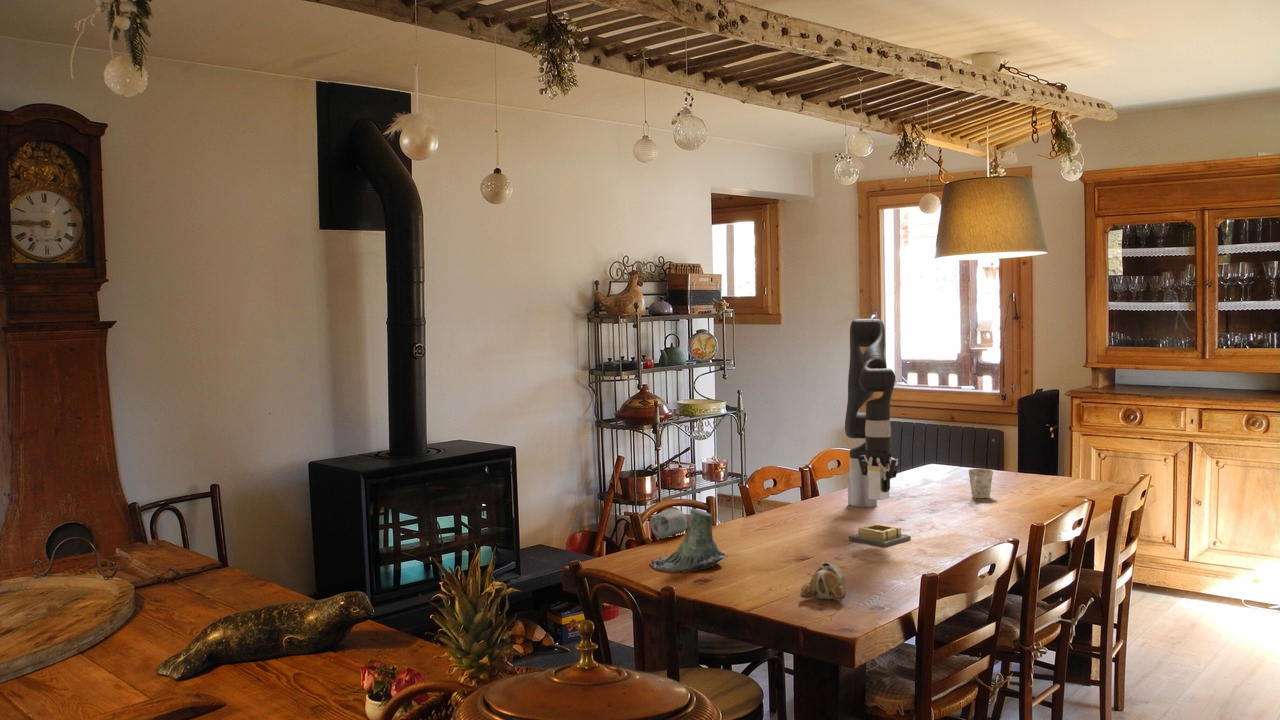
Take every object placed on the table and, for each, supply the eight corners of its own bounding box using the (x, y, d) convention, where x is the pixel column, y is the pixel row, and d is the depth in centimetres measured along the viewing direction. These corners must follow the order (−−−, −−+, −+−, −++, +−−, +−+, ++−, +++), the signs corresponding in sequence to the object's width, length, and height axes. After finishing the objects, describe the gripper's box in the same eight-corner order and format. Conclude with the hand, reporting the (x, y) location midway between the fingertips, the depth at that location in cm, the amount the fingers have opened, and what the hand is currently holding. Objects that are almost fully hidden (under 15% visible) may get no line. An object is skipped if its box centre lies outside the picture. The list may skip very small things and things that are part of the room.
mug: (995, 496, 358) (995, 469, 358) (987, 502, 348) (987, 474, 347) (972, 494, 363) (971, 468, 362) (963, 500, 352) (963, 473, 352)
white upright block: (868, 498, 295) (867, 465, 294) (877, 496, 298) (876, 463, 297) (880, 500, 291) (880, 467, 291) (889, 498, 294) (889, 465, 294)
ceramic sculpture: (852, 556, 242) (841, 575, 228) (853, 589, 242) (843, 610, 229) (810, 553, 246) (796, 572, 232) (811, 587, 247) (798, 607, 233)
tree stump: (653, 557, 283) (667, 497, 282) (720, 575, 280) (734, 514, 280) (646, 571, 264) (660, 507, 264) (717, 589, 262) (732, 525, 262)
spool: (667, 532, 298) (661, 501, 303) (646, 542, 304) (640, 512, 308) (697, 535, 308) (690, 505, 312) (676, 545, 313) (670, 516, 318)
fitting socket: (848, 540, 296) (848, 528, 296) (875, 533, 304) (874, 521, 304) (884, 547, 286) (884, 534, 286) (910, 539, 294) (910, 527, 294)
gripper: (851, 434, 297) (852, 489, 297) (890, 437, 286) (891, 495, 287) (866, 431, 302) (867, 486, 302) (905, 435, 291) (906, 492, 291)
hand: (879, 490), depth 294 cm, fingers closed on white upright block, 4 cm apart
